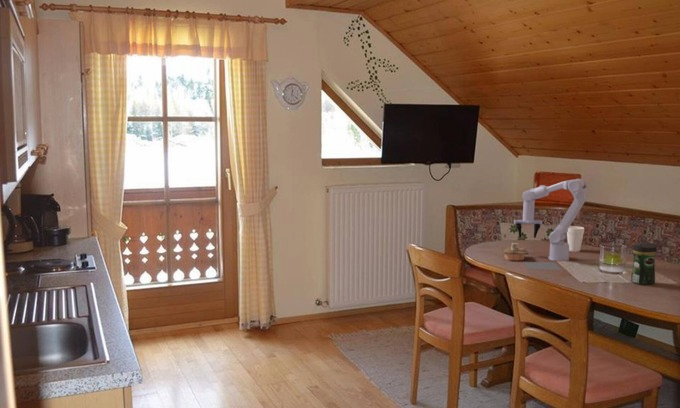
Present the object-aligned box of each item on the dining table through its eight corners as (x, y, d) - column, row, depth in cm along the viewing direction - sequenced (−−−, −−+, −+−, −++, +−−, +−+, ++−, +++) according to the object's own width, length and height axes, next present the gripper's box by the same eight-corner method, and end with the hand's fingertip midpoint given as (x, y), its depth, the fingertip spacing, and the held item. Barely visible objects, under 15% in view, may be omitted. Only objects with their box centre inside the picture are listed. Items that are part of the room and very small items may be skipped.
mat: (554, 263, 323) (554, 262, 323) (561, 271, 308) (561, 270, 307) (522, 262, 325) (522, 261, 325) (527, 269, 309) (527, 268, 309)
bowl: (522, 257, 336) (522, 250, 336) (525, 261, 327) (525, 253, 326) (503, 256, 338) (503, 249, 337) (506, 260, 328) (506, 253, 328)
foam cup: (580, 248, 359) (581, 226, 357) (585, 252, 350) (586, 229, 348) (563, 248, 360) (564, 225, 358) (567, 251, 351) (568, 228, 349)
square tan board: (524, 249, 337) (524, 241, 336) (528, 254, 325) (528, 246, 324) (501, 249, 338) (501, 240, 337) (504, 253, 326) (504, 245, 326)
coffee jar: (645, 280, 292) (649, 240, 289) (657, 284, 284) (661, 244, 281) (627, 281, 290) (630, 241, 287) (638, 285, 282) (641, 245, 279)
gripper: (515, 213, 335) (514, 238, 337) (544, 213, 333) (542, 239, 335) (513, 211, 342) (512, 235, 344) (541, 211, 340) (540, 236, 342)
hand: (527, 237), depth 340 cm, fingers open, 7 cm apart
